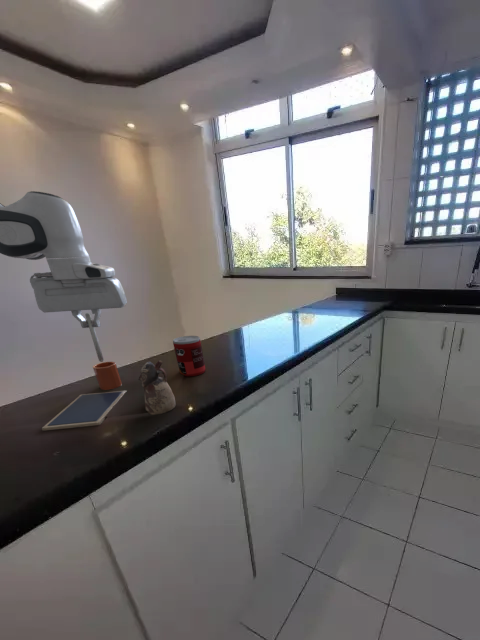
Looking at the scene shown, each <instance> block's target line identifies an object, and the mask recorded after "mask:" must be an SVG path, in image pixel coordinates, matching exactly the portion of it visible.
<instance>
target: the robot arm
mask: <svg viewBox="0 0 480 640" xmlns="http://www.w3.org/2000/svg"><path fill="white" fill-rule="evenodd" d="M80 225H81V224H80V221H79V220H78V217H77V215H76V213H75V210H74V208H73V206H72V205H71V203H69V202H68V201H67V200H66V199H64V198H62V197H61V196H58V195H55V194H52V193H48V192H44V191H34V190H33V191H32V190H31V191H27V192H26V193H25V194H24V196H22V197H21V198H20V199H18V200H16V201H15V202H13V203H10V204H9V205H4V204H2V203H1V202H0V254H1V255H3V256H7V257H9V258H14V259H24V260H25V259H26V260H31V261H39V260H41V259H44V258H45V259H46V262H47V265H48V267H49V270H50V271H48V272H34V273H33V274H32V275H31V276H30V277H29V283H30V285H31V288H32V290H33V294H34V298H35V302H36V305H37V307H38V309H39V310H40V311H41V312H42V313H45V314H46V313H59V312H61V313H63V312H71V314H72V316H73V318H75V319H76V320H77V321H78V322H79V323H80V326H81V328H82V329H89V326H88V322H87V319H86V318H85V317H84V316H83V315H82V313H83V312H82V311H91V313H92V314H91V315H94V317H93V319H92V320H91V321H90V322H91V324H92V327H94V328H100V327H101V321H100V319H101V315H102V310H107V309H121V308H122V309H123V308H124V307H126V306H127V304H128V299H127V295H126V292H125V289H124V288H123V285H122V283H121V281H120V280H119V278H116V270H115V268H114V267H112V266H108V265H103V264H100V263H96V262H92V260H91V257H90V255H89V252H88V251H87V249H86V246H85V242H84V241H85V239H84V235H83V231H82V229H81V226H80Z"/></svg>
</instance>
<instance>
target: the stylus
mask: <svg viewBox="0 0 480 640" xmlns="http://www.w3.org/2000/svg"><path fill="white" fill-rule="evenodd" d="M84 314H85V315H84V316H85V320H87V322H88V326H89V328H88V329H89V332H90V336H91V339H92V342H93V345H94V349H95V352H96V353H95V354H96V355H97V359H98V362H99V363H103V362H105V359H104V356H103V352H102V349H101V348H102V347H101V346H100V342H99V338H98V334H97V332H96V331H97V330H96V327H92V324H91V322H90V321H91V320H93V318H92V314H91V313H90V312H86V313H84Z"/></svg>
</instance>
